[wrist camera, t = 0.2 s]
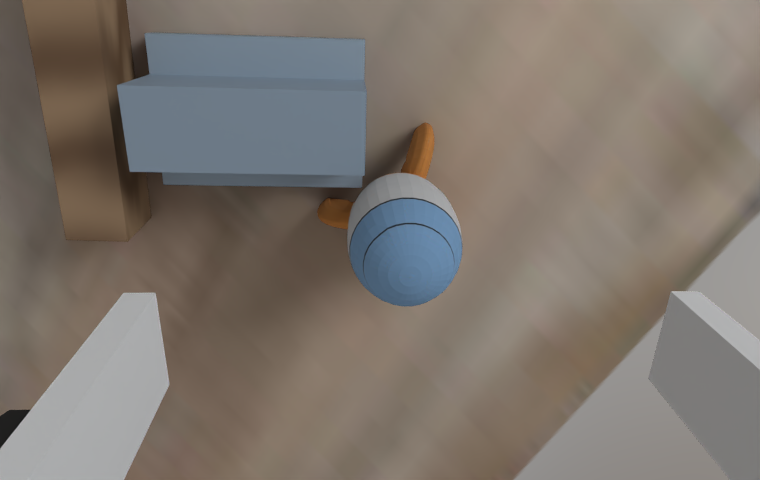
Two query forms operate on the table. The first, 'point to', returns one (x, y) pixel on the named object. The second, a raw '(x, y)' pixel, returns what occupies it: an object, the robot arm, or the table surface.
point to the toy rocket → (401, 230)
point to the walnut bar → (87, 114)
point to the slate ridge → (248, 111)
